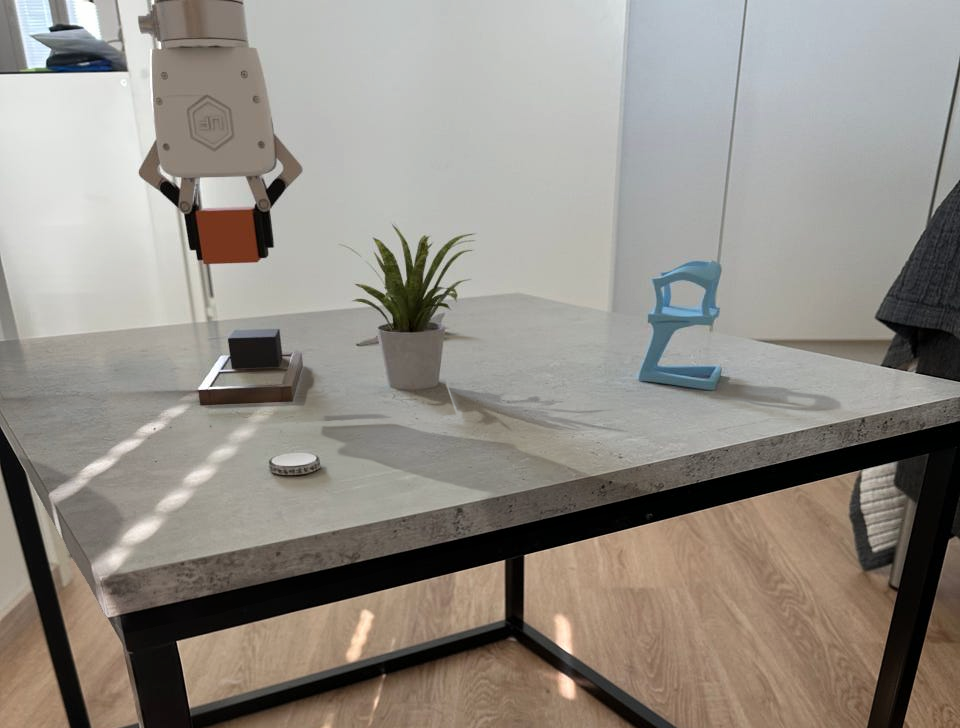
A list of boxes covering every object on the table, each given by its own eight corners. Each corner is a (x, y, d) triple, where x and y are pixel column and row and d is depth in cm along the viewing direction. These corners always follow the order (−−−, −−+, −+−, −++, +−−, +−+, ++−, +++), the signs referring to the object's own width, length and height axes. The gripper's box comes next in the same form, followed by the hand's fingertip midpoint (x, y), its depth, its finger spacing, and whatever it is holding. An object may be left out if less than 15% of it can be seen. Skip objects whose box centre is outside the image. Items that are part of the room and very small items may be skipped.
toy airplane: (335, 346, 119) (333, 327, 118) (444, 323, 133) (443, 306, 132) (377, 353, 114) (376, 333, 113) (485, 328, 128) (484, 311, 127)
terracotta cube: (203, 264, 86) (195, 211, 84) (211, 258, 90) (203, 208, 88) (257, 262, 86) (251, 209, 84) (263, 256, 91) (256, 206, 88)
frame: (200, 410, 90) (197, 389, 89) (223, 373, 105) (221, 355, 104) (293, 406, 91) (291, 385, 90) (303, 370, 106) (301, 352, 105)
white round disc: (321, 472, 72) (320, 464, 72) (269, 476, 71) (268, 468, 71) (318, 457, 75) (318, 450, 75) (269, 461, 75) (268, 454, 74)
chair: (646, 370, 103) (654, 254, 98) (722, 374, 101) (734, 256, 95) (632, 385, 97) (640, 263, 91) (713, 390, 94) (726, 265, 89)
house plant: (516, 381, 100) (516, 215, 92) (452, 410, 89) (447, 225, 81) (404, 369, 106) (396, 212, 98) (332, 395, 95) (316, 221, 87)
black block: (233, 381, 99) (227, 338, 97) (239, 371, 103) (233, 330, 101) (280, 379, 100) (275, 336, 97) (284, 370, 104) (279, 328, 102)
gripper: (89, 27, 75) (133, 265, 84) (299, 24, 77) (321, 259, 86) (111, 37, 82) (150, 256, 91) (304, 34, 83) (325, 251, 92)
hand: (233, 255), depth 88 cm, fingers closed on terracotta cube, 5 cm apart
